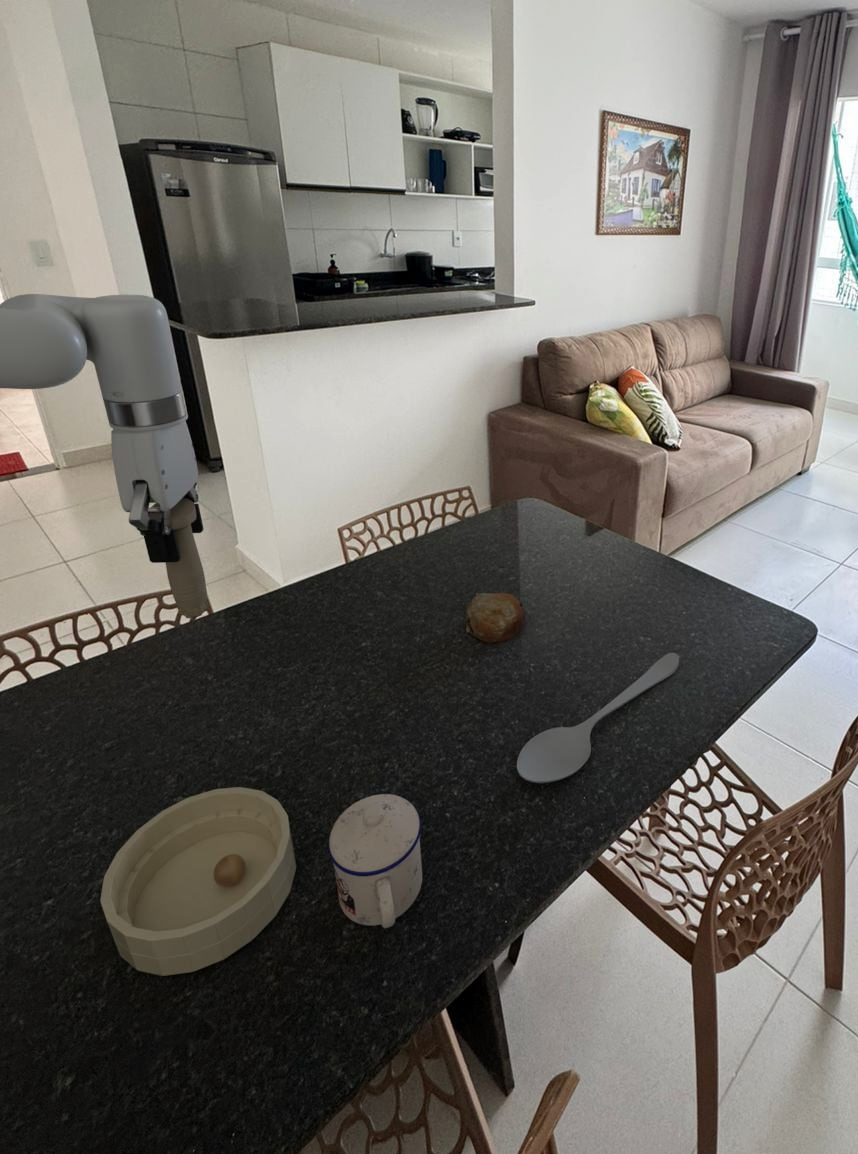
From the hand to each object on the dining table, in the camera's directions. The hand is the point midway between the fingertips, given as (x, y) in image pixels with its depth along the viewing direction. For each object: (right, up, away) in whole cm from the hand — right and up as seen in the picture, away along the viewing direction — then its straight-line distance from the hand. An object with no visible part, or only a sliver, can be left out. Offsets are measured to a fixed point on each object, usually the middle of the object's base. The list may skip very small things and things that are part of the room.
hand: (178, 545), depth 82 cm
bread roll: (+34, -17, +33) cm, 51 cm away
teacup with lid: (+29, -37, -11) cm, 49 cm away
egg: (+13, -34, -12) cm, 38 cm away
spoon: (+54, -27, +15) cm, 62 cm away
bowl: (+11, -36, -12) cm, 39 cm away
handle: (0, -9, +4) cm, 10 cm away
